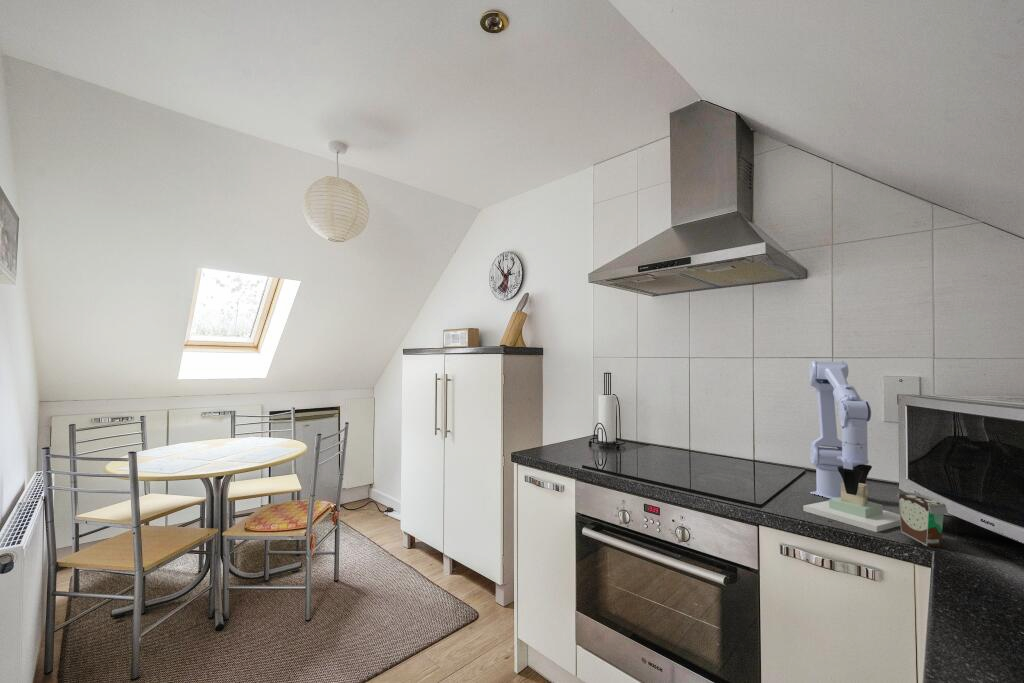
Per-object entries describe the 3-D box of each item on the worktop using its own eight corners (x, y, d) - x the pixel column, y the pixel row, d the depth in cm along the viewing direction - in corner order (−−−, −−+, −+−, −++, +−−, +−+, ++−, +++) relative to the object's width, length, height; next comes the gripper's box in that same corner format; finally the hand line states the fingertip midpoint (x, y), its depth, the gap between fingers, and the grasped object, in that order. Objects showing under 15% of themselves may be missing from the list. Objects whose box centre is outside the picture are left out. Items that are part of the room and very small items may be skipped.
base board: (838, 503, 138) (837, 490, 138) (911, 522, 122) (910, 507, 122) (803, 510, 130) (803, 496, 130) (876, 532, 114) (876, 516, 114)
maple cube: (845, 498, 130) (845, 480, 130) (867, 502, 126) (867, 484, 126) (840, 501, 127) (840, 483, 127) (862, 505, 123) (862, 487, 123)
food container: (962, 551, 103) (961, 507, 103) (931, 548, 104) (930, 504, 104) (925, 532, 115) (924, 492, 115) (897, 529, 116) (896, 490, 117)
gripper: (844, 439, 135) (845, 484, 134) (830, 443, 125) (830, 492, 125) (874, 442, 129) (875, 490, 129) (861, 447, 120) (862, 499, 119)
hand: (855, 492), depth 126 cm, fingers open, 7 cm apart
